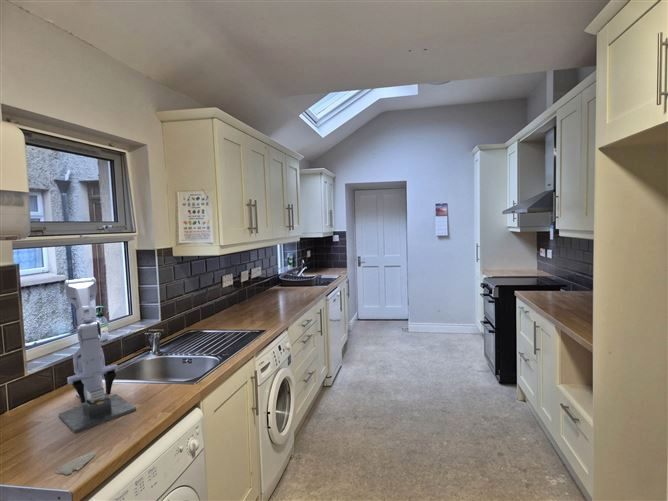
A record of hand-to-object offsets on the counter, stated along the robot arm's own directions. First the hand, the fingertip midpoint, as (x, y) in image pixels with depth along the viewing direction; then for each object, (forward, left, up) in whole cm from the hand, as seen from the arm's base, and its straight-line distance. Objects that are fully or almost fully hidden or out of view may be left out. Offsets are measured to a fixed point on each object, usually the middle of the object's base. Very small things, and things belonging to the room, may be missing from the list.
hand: (96, 397), depth 133 cm
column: (0, 0, -4) cm, 4 cm away
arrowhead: (+28, -13, -6) cm, 31 cm away
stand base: (0, 0, -5) cm, 5 cm away
